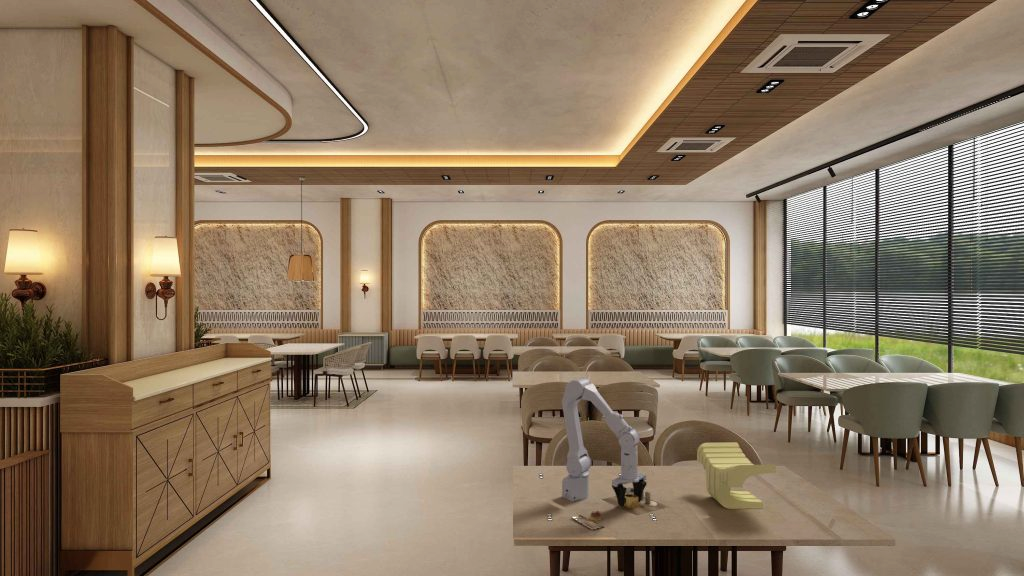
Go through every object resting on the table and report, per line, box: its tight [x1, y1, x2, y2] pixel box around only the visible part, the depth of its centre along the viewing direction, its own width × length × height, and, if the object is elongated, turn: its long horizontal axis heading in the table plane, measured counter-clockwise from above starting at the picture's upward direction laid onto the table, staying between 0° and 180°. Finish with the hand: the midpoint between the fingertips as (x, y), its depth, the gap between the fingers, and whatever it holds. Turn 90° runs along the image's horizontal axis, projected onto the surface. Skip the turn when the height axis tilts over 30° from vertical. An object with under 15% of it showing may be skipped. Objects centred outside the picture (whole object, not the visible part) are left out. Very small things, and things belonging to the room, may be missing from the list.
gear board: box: [601, 487, 669, 516], centre depth 213 cm, size 15×18×5 cm
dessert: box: [570, 508, 604, 531], centre depth 198 cm, size 12×12×5 cm
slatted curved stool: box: [696, 441, 777, 510], centre depth 217 cm, size 30×16×18 cm, turn 3°
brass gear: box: [623, 493, 638, 509], centre depth 210 cm, size 5×5×4 cm
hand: (629, 503), depth 210 cm, fingers open, 7 cm apart
